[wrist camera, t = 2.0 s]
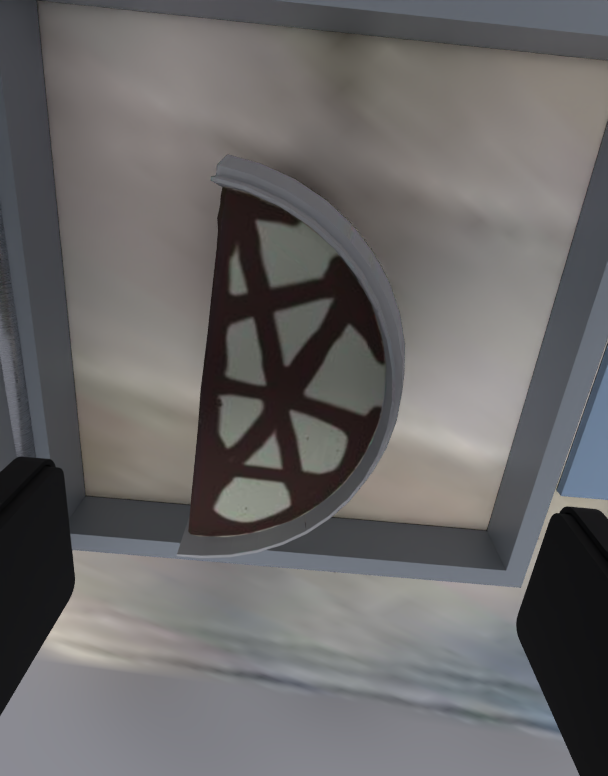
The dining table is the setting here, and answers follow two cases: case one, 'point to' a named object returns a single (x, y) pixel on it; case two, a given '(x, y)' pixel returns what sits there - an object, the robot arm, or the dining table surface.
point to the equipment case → (336, 535)
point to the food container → (288, 367)
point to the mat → (590, 446)
